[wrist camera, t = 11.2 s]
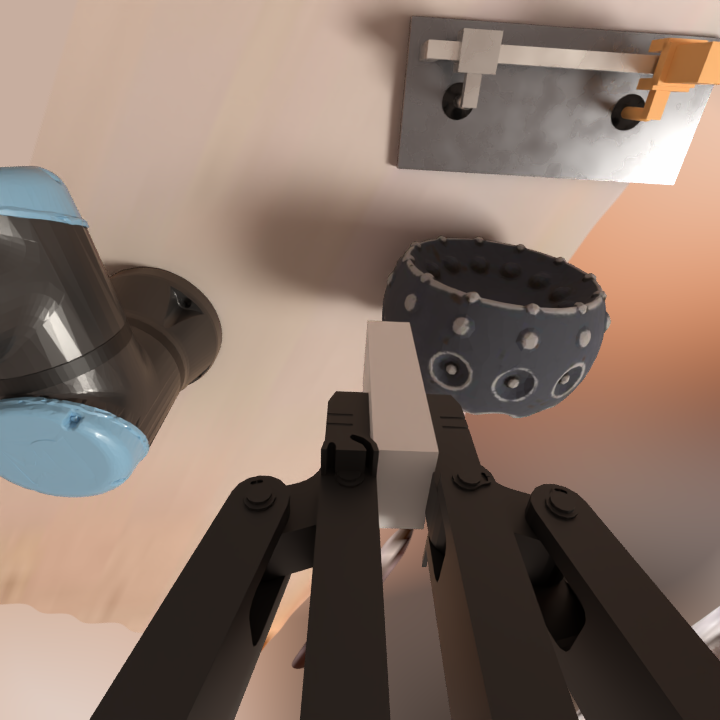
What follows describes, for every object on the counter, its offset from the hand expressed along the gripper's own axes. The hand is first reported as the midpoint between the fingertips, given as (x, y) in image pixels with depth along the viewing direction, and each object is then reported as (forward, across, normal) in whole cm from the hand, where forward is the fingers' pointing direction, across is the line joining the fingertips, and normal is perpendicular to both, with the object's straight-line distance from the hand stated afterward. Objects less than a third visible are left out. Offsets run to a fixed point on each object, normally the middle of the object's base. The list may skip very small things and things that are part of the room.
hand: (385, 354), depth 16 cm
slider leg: (+33, +24, +10) cm, 42 cm away
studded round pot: (+35, +12, -10) cm, 38 cm away
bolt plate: (+34, +17, +8) cm, 39 cm away
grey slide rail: (+34, +17, +10) cm, 40 cm away
